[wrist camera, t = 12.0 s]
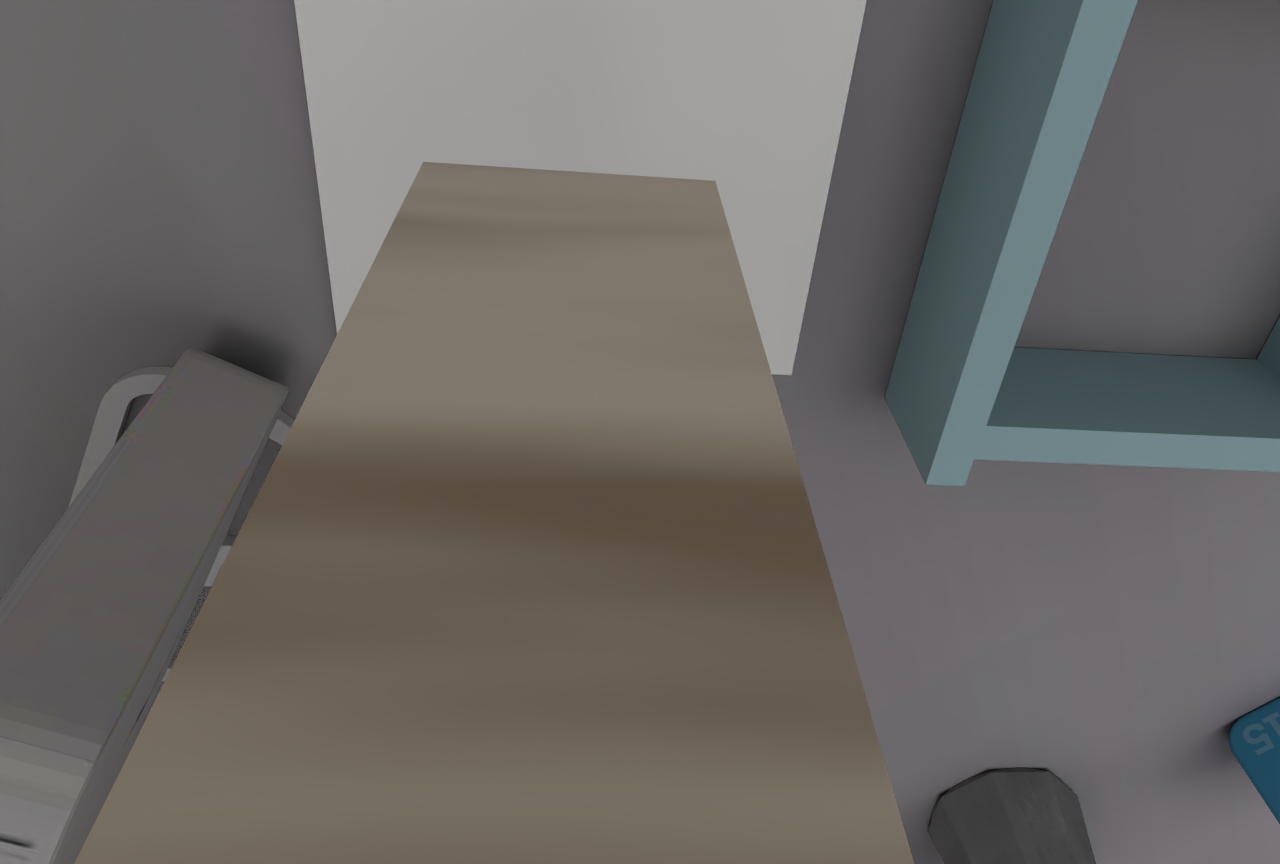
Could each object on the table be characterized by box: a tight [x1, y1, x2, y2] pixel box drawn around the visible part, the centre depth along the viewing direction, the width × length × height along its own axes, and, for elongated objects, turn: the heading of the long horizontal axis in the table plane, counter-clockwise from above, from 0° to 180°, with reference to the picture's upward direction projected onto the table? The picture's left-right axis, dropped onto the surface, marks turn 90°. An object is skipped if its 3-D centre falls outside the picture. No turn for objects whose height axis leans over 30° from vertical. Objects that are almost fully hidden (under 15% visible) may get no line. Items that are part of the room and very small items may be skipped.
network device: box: [0, 347, 295, 864], centre depth 34 cm, size 26×9×20 cm, turn 149°
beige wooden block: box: [74, 162, 914, 864], centre depth 10 cm, size 11×4×13 cm, turn 176°
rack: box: [885, 0, 1280, 486], centre depth 30 cm, size 24×17×6 cm
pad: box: [294, 0, 867, 375], centre depth 32 cm, size 18×18×1 cm
